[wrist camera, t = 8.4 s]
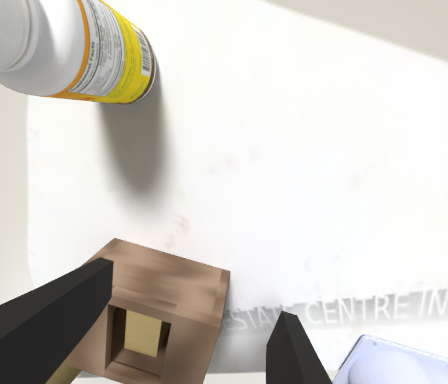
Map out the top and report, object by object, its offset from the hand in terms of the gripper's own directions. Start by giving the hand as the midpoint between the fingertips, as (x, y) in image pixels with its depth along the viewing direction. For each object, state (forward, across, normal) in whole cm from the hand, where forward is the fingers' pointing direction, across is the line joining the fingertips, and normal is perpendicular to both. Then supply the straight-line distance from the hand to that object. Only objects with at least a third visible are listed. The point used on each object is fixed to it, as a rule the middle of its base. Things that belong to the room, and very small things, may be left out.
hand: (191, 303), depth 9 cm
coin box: (+10, +4, +12) cm, 16 cm away
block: (+10, +4, +11) cm, 16 cm away
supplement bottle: (+11, +10, -9) cm, 17 cm away
